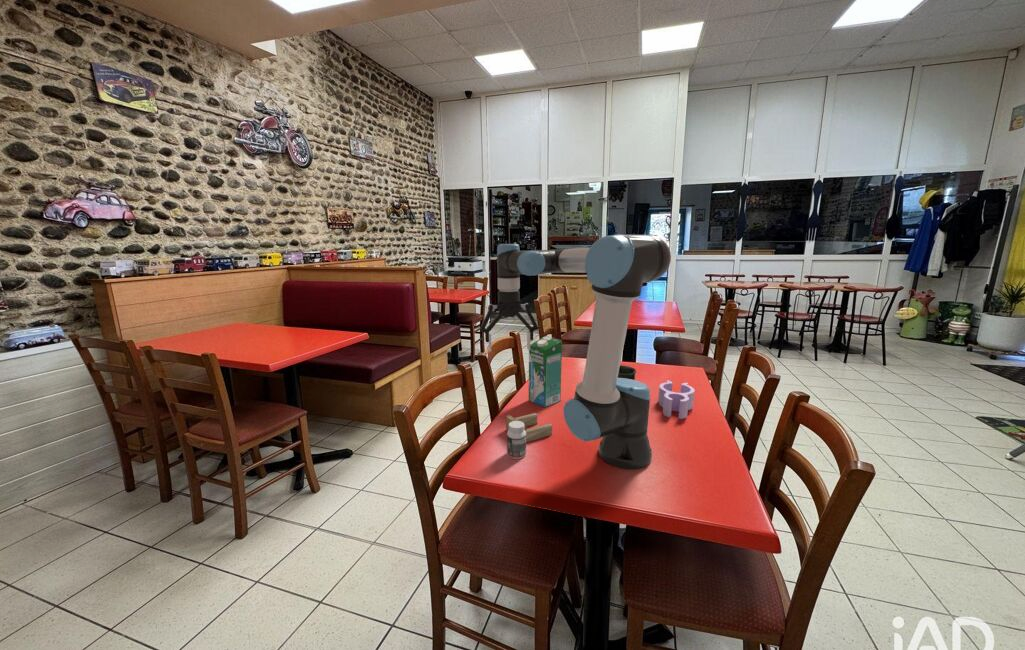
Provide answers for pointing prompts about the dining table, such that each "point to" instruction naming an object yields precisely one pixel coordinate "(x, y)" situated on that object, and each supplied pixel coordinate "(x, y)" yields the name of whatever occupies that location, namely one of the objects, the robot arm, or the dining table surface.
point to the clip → (676, 399)
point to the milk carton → (545, 371)
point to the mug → (626, 372)
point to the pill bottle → (516, 440)
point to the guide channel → (532, 432)
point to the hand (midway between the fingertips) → (509, 350)
